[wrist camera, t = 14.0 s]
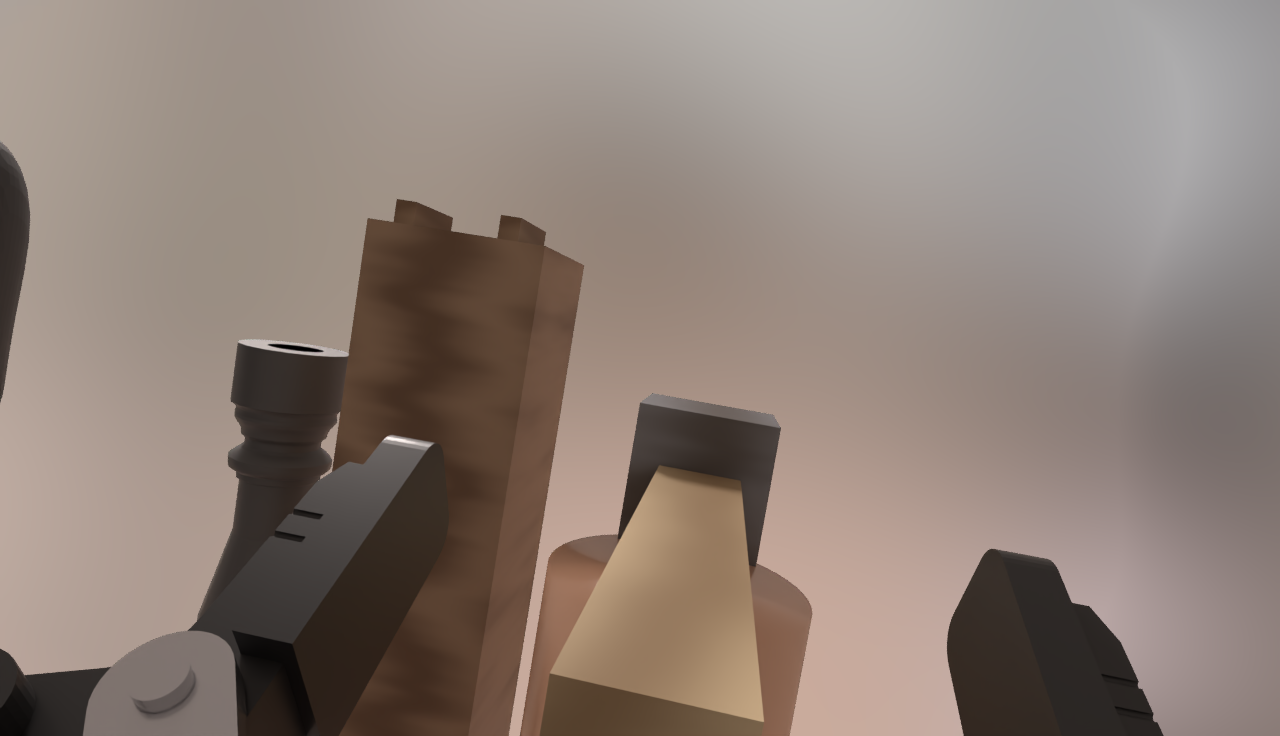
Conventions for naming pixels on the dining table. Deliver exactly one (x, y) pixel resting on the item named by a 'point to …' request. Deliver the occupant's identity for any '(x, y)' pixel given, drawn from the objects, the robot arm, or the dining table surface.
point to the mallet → (675, 585)
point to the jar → (775, 617)
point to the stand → (460, 448)
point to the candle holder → (276, 440)
